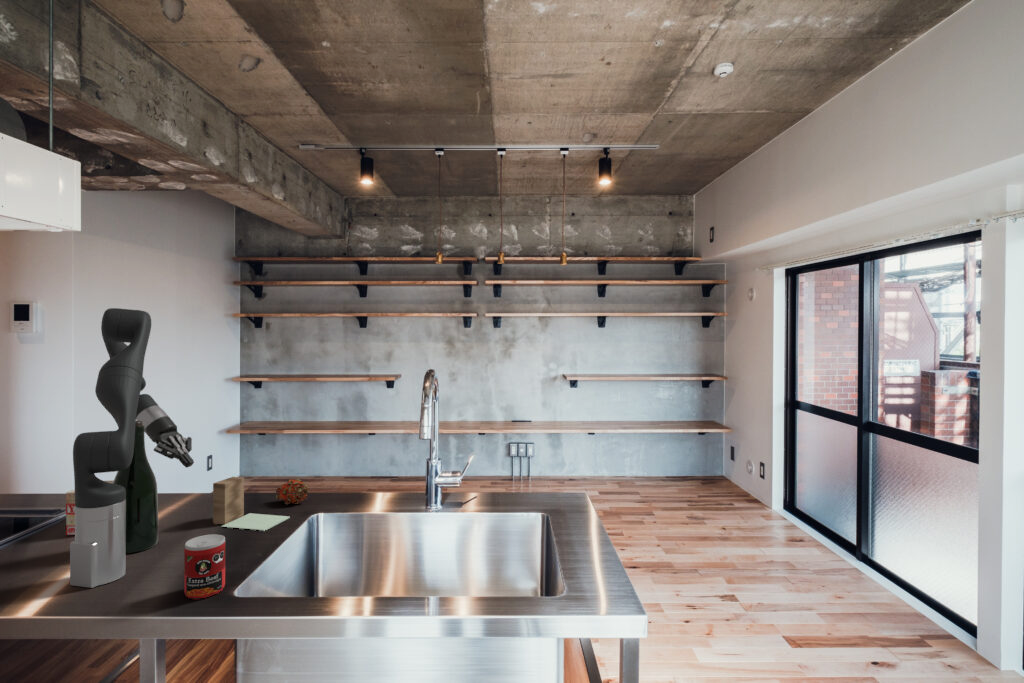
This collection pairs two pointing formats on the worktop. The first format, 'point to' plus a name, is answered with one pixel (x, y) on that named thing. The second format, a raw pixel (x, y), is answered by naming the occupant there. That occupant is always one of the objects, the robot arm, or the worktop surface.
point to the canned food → (204, 566)
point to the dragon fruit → (292, 487)
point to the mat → (256, 521)
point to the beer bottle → (139, 497)
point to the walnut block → (228, 500)
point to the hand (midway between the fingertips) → (190, 465)
